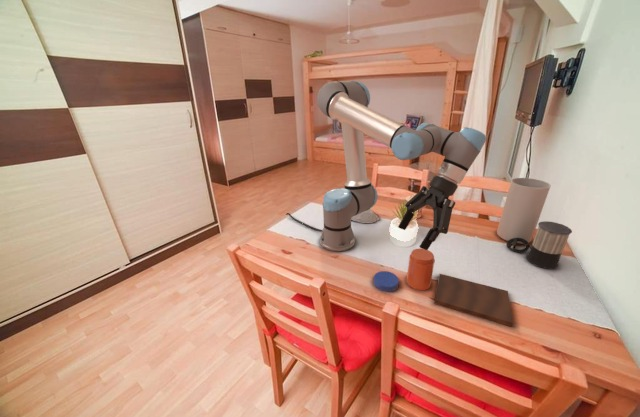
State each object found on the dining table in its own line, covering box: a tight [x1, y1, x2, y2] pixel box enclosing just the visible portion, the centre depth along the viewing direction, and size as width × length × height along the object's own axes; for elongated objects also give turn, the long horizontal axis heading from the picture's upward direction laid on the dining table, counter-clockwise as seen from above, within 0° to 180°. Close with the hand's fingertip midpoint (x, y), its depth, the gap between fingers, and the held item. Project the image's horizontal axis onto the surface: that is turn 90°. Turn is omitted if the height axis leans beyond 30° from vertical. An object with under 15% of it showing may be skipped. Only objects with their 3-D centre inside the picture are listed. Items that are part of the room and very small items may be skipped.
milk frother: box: [505, 220, 573, 270], centre depth 98 cm, size 14×16×15 cm
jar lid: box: [373, 270, 400, 292], centre depth 90 cm, size 8×8×2 cm
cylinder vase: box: [496, 177, 551, 245], centre depth 109 cm, size 12×12×25 cm
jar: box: [406, 248, 436, 291], centre depth 88 cm, size 8×8×12 cm
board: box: [434, 273, 514, 327], centre depth 82 cm, size 20×14×2 cm
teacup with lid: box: [404, 193, 423, 219], centre depth 136 cm, size 12×9×12 cm
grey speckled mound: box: [351, 208, 380, 224], centre depth 138 cm, size 16×25×7 cm, turn 47°
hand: (411, 237), depth 85 cm, fingers open, 13 cm apart
